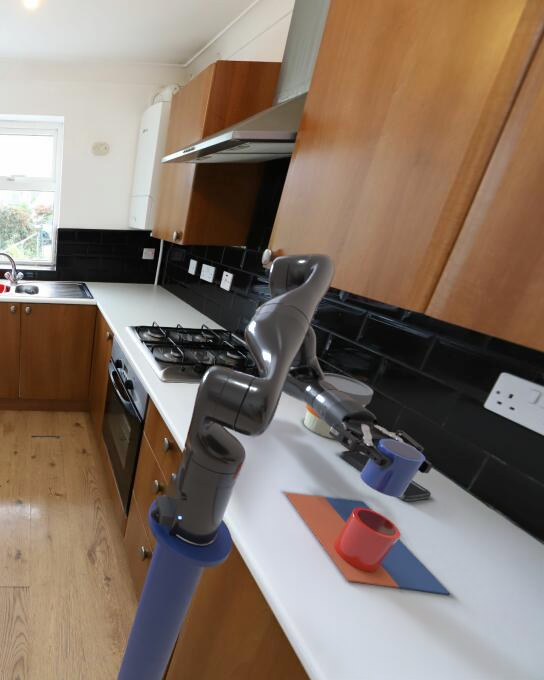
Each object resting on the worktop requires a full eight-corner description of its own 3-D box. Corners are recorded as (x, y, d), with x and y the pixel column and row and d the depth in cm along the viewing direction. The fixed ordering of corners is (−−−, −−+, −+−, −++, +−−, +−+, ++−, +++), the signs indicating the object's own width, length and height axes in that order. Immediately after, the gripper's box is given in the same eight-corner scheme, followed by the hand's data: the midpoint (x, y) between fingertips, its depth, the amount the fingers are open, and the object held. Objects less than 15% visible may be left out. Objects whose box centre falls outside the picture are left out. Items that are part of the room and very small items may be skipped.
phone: (363, 448, 91) (434, 494, 78) (361, 452, 92) (431, 497, 78) (339, 451, 90) (407, 498, 76) (337, 455, 90) (405, 502, 77)
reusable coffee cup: (360, 437, 98) (385, 391, 92) (333, 446, 93) (357, 399, 88) (313, 412, 109) (333, 370, 103) (287, 419, 104) (305, 375, 98)
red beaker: (349, 570, 61) (371, 535, 58) (326, 538, 67) (344, 505, 63) (387, 575, 61) (411, 540, 57) (360, 542, 66) (380, 509, 63)
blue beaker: (376, 494, 65) (398, 459, 62) (352, 470, 71) (370, 436, 68) (412, 498, 65) (435, 463, 62) (384, 474, 71) (405, 440, 67)
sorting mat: (348, 581, 60) (349, 579, 59) (285, 493, 77) (286, 492, 77) (449, 595, 58) (450, 593, 58) (362, 503, 76) (363, 501, 76)
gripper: (315, 395, 77) (375, 446, 62) (384, 402, 76) (462, 455, 61) (302, 423, 80) (357, 478, 65) (368, 430, 79) (440, 487, 64)
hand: (407, 467), depth 63 cm, fingers closed on blue beaker, 6 cm apart
